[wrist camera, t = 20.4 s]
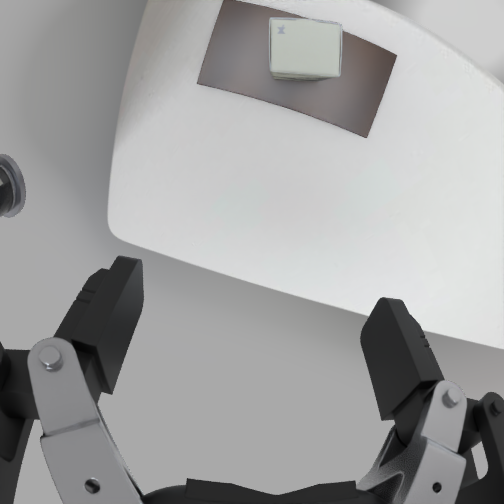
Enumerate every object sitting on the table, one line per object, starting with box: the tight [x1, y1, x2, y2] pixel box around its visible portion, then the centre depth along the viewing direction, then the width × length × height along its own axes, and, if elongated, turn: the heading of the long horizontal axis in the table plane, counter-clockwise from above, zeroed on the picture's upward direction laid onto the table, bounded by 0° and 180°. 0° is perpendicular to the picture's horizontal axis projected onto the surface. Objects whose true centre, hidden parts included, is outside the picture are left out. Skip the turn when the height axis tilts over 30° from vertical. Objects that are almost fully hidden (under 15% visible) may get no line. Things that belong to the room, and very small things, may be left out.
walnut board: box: [197, 0, 397, 138], centre depth 28 cm, size 20×11×1 cm, turn 74°
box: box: [269, 17, 342, 82], centre depth 22 cm, size 5×4×13 cm
